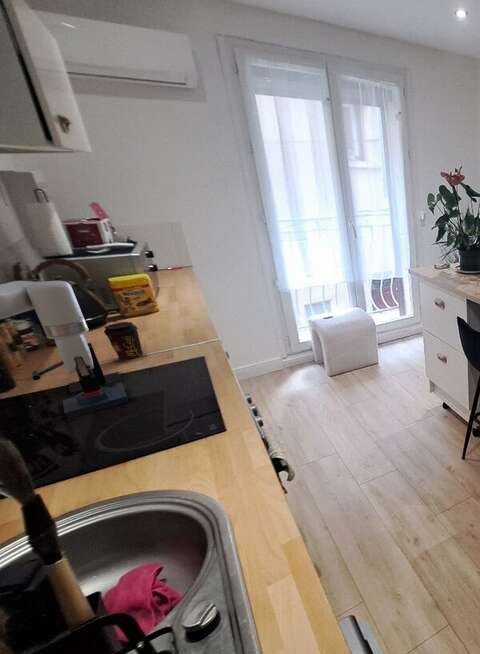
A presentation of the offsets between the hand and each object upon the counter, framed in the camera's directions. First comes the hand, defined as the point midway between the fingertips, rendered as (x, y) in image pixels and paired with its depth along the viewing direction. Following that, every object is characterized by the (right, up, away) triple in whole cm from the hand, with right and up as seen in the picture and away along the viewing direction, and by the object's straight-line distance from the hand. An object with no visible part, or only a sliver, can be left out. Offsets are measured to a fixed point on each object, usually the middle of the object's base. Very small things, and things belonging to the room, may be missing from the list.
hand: (92, 390), depth 113 cm
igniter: (0, -4, +2) cm, 5 cm away
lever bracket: (-12, 0, +13) cm, 18 cm away
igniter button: (0, -2, +1) cm, 2 cm away
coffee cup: (-19, +7, +31) cm, 37 cm away
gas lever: (-15, +6, +7) cm, 18 cm away
